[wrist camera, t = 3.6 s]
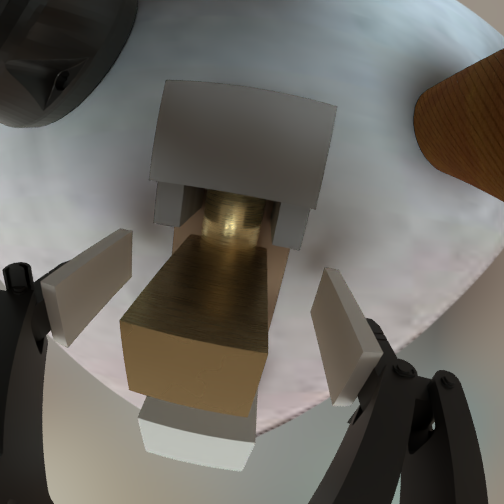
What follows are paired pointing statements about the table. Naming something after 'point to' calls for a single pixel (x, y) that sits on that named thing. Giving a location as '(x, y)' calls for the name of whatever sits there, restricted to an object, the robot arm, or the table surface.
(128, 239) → the robot arm
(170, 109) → the sleeve rail
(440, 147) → the disposable coffee cup
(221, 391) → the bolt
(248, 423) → the socket
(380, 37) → the table surface
